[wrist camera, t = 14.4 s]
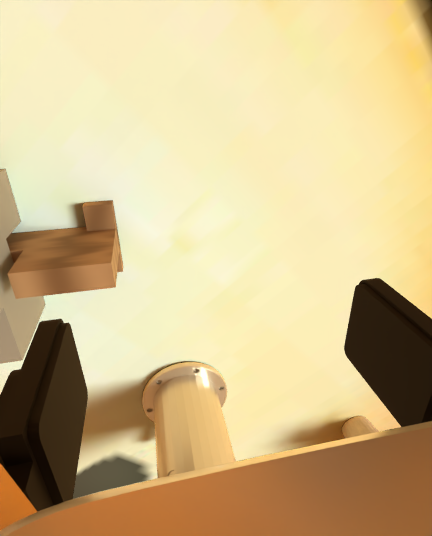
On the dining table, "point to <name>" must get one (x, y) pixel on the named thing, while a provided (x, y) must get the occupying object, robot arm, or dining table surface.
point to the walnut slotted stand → (67, 256)
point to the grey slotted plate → (3, 299)
